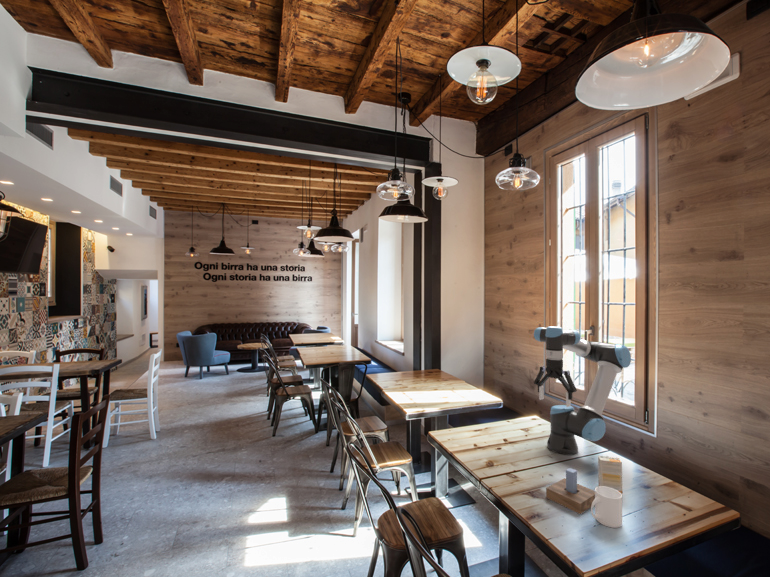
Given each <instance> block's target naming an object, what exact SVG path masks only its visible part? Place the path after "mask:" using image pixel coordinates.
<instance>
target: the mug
mask: <svg viewBox="0 0 770 577" xmlns="http://www.w3.org/2000/svg"><path fill="white" fill-rule="evenodd" d="M594 491H595V499H594V500H593V502H592V505H591V508H590V512H591V516H592V517H593V519H595V520H597V522H598V523H600V524H601V525H603V526H605V527H609V528H613V529H617V528H620V527H622V526H623V493H620V492H619V491H617V490H615V489H613V488H610V487H605V486H599V485H598V486H595V488H594ZM593 508H594V512H593Z"/></svg>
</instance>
